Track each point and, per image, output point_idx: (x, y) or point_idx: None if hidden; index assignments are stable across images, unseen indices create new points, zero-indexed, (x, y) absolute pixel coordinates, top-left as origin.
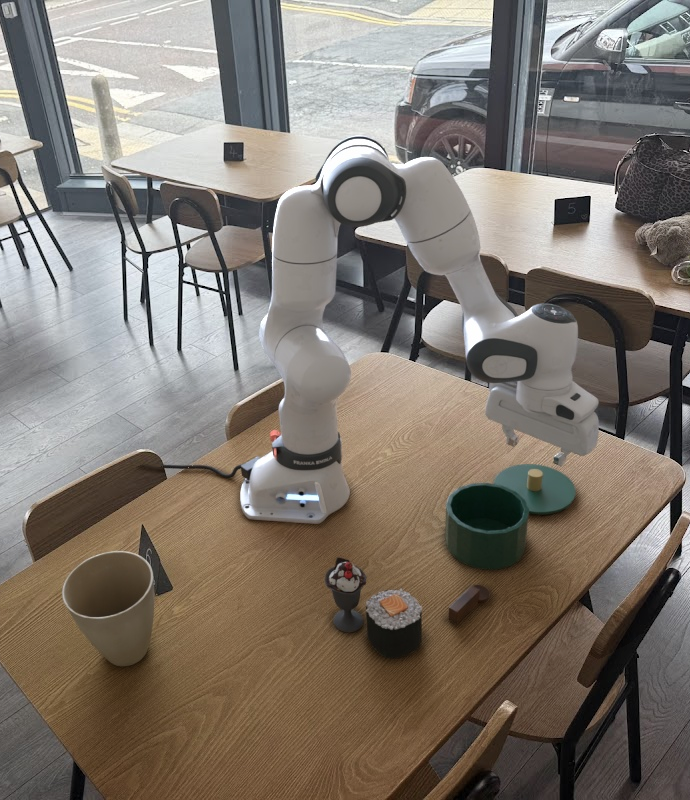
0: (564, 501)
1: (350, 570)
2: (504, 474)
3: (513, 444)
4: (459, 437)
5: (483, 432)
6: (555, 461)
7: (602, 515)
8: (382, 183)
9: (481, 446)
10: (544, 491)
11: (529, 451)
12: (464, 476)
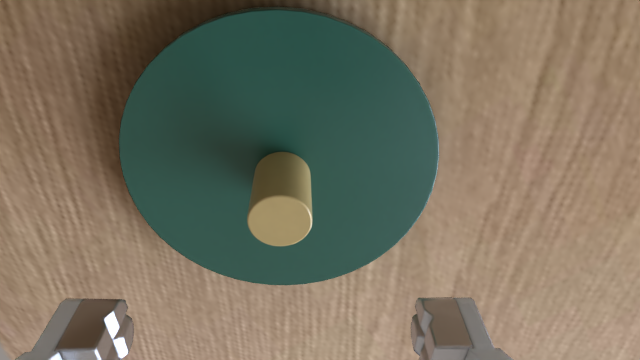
0: (144, 169)
1: None
2: (415, 174)
3: (423, 313)
4: (635, 256)
5: (563, 309)
6: (94, 317)
7: (30, 190)
8: None
9: (549, 258)
10: (236, 175)
11: (400, 309)
12: (560, 85)
